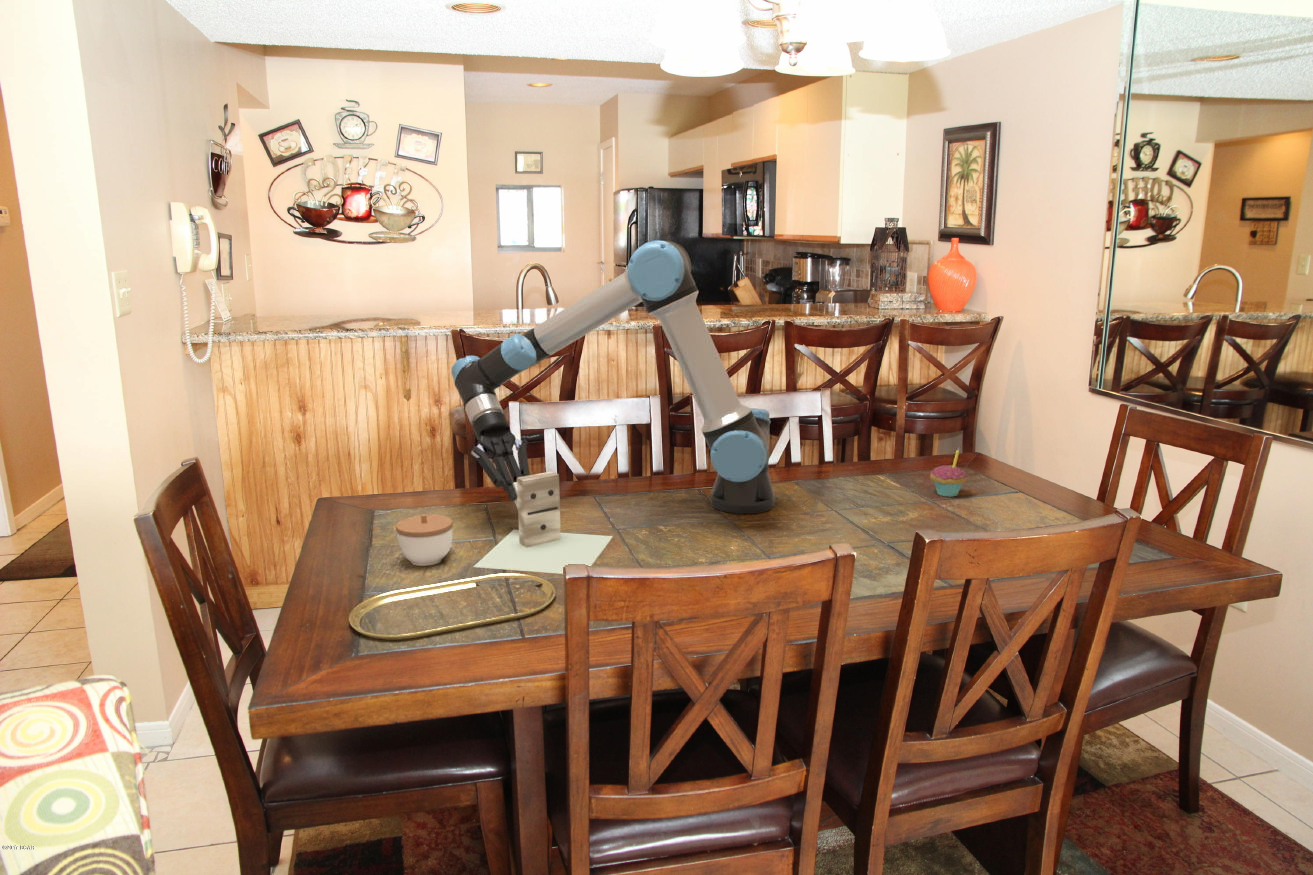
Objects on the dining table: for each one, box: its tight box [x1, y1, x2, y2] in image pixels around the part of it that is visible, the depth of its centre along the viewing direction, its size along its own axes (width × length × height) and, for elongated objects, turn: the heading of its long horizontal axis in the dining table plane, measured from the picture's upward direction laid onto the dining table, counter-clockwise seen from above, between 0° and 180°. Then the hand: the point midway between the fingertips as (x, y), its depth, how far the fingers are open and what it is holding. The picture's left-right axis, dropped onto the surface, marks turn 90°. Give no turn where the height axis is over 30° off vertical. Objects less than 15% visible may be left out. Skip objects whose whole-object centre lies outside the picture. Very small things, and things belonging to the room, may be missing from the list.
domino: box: [517, 471, 562, 547], centre depth 183 cm, size 3×8×14 cm, turn 125°
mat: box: [473, 529, 614, 575], centre depth 180 cm, size 22×22×1 cm
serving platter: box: [348, 573, 556, 641], centre depth 154 cm, size 19×35×2 cm, turn 115°
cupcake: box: [929, 447, 968, 498], centre depth 217 cm, size 9×8×12 cm
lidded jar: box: [395, 513, 454, 567], centre depth 175 cm, size 11×11×9 cm
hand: (525, 511), depth 187 cm, fingers closed
